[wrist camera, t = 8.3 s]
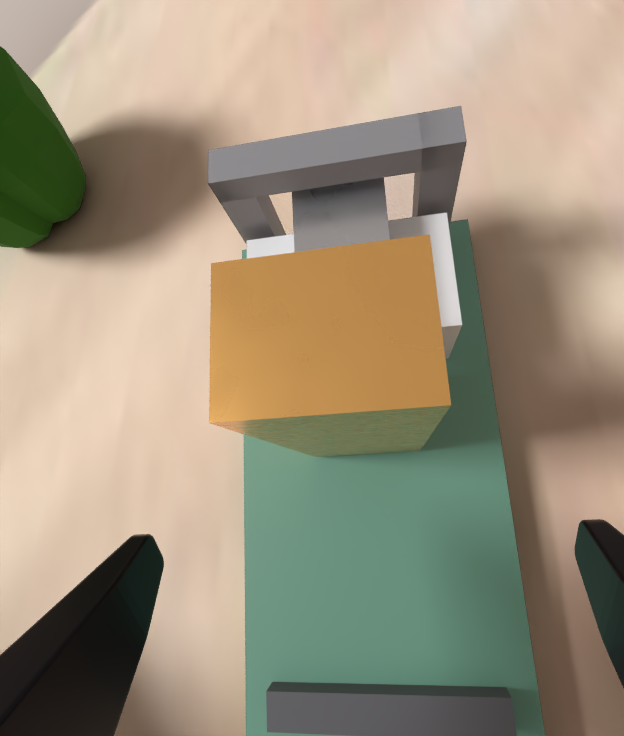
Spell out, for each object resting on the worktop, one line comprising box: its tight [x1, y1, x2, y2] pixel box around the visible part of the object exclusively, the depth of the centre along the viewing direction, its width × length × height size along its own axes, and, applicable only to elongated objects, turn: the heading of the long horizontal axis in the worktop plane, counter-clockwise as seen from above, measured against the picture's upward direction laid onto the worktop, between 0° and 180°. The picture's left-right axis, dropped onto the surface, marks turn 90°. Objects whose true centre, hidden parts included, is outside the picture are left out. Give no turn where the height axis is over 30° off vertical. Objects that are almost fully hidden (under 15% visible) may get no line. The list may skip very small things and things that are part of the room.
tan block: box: [209, 177, 451, 457], centre depth 14 cm, size 10×4×10 cm, turn 3°
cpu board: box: [208, 106, 545, 736], centre depth 15 cm, size 20×10×8 cm, turn 3°
